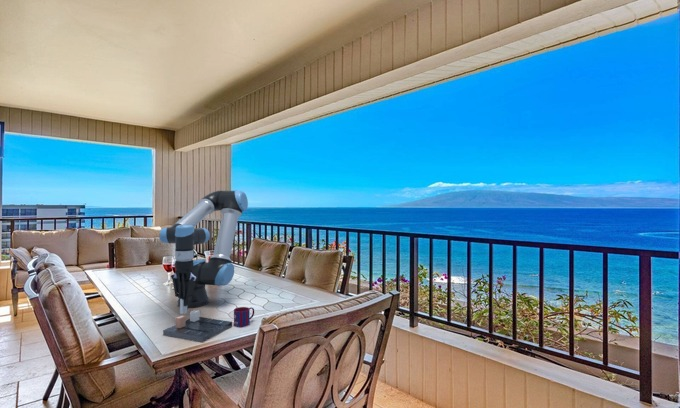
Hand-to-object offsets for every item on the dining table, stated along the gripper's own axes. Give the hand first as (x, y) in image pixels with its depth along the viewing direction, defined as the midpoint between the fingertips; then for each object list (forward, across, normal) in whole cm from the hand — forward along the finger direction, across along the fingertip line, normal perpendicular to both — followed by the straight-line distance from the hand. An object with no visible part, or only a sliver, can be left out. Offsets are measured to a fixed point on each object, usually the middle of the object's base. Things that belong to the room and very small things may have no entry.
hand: (183, 312), depth 150 cm
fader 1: (+3, +6, -8) cm, 10 cm away
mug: (+5, +25, +10) cm, 27 cm away
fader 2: (+3, +6, 0) cm, 6 cm away
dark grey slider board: (+5, +12, -4) cm, 13 cm away
